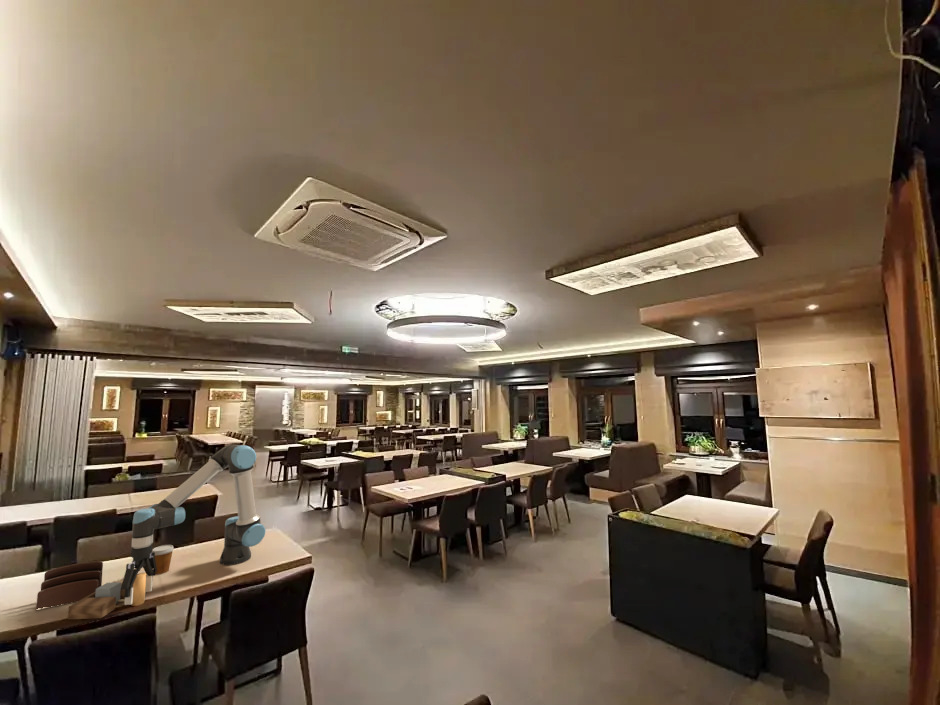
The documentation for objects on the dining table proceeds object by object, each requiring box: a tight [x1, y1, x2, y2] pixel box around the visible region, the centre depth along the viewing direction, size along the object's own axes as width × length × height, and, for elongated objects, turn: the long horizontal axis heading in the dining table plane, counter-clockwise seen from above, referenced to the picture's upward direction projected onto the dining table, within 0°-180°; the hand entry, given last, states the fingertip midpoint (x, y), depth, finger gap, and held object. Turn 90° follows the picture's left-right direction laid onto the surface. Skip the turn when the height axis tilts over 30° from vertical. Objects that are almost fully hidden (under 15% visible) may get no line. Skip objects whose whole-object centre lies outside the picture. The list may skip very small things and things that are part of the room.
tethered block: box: [95, 572, 147, 607], centre depth 179 cm, size 18×6×12 cm, turn 93°
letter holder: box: [35, 560, 104, 610], centre depth 184 cm, size 10×20×14 cm, turn 124°
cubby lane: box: [67, 580, 133, 620], centre depth 179 cm, size 13×22×5 cm, turn 3°
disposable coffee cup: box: [152, 544, 175, 575], centre depth 212 cm, size 10×10×12 cm
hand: (138, 597), depth 179 cm, fingers open, 11 cm apart
